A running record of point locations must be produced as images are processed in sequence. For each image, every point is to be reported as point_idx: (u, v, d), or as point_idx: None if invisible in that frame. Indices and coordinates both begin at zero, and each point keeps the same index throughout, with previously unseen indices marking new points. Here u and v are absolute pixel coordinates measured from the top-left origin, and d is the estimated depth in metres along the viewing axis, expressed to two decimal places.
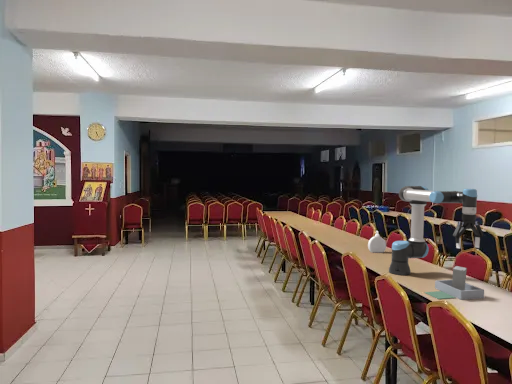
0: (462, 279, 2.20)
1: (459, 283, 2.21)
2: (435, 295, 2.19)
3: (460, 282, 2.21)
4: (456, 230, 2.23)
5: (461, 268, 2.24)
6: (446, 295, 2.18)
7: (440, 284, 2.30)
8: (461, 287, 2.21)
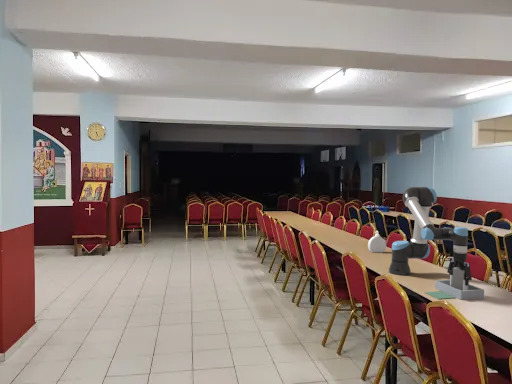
0: (462, 279, 2.20)
1: (459, 283, 2.21)
2: (435, 295, 2.19)
3: (460, 282, 2.21)
4: None
5: None
6: (446, 295, 2.18)
7: (440, 284, 2.30)
8: (461, 287, 2.21)
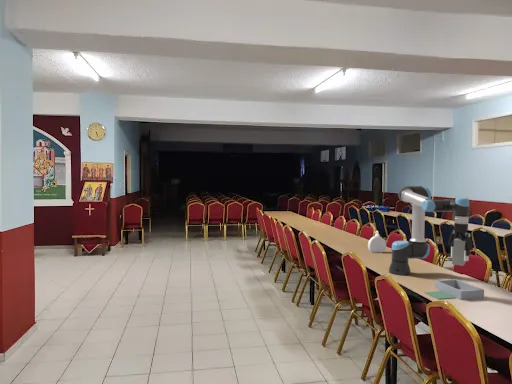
0: (463, 250, 2.19)
1: (460, 254, 2.21)
2: (435, 295, 2.19)
3: (461, 253, 2.20)
4: None
5: None
6: (446, 295, 2.18)
7: (440, 284, 2.30)
8: (462, 258, 2.20)
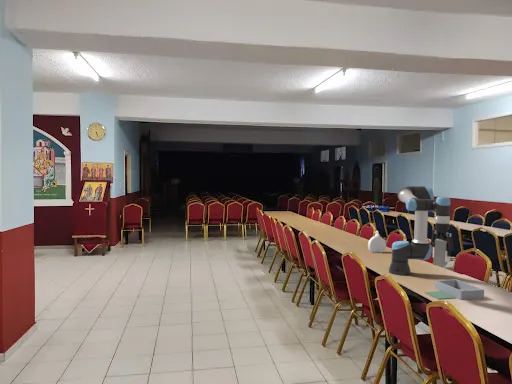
0: (445, 250, 2.14)
1: (441, 255, 2.15)
2: (435, 295, 2.19)
3: (442, 253, 2.15)
4: None
5: None
6: (446, 295, 2.18)
7: (440, 284, 2.30)
8: (443, 258, 2.15)
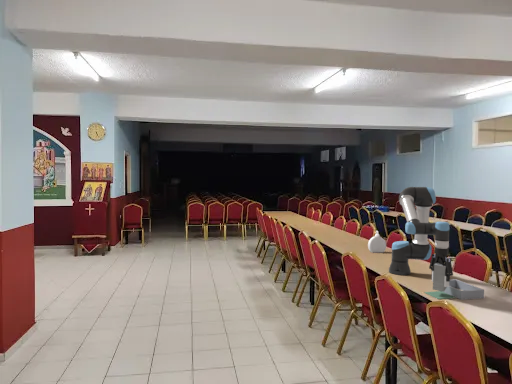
0: (444, 275, 2.15)
1: (440, 279, 2.16)
2: (435, 295, 2.19)
3: (441, 278, 2.16)
4: None
5: None
6: (446, 295, 2.18)
7: None
8: (442, 283, 2.15)
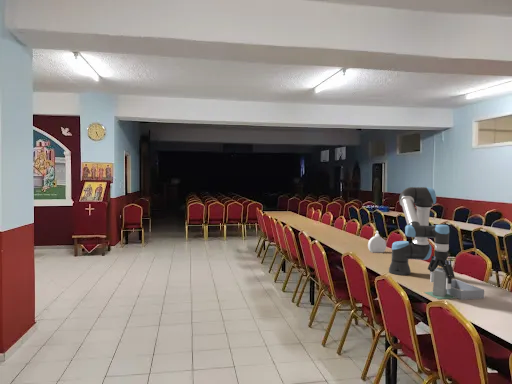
0: (444, 281, 2.15)
1: (440, 285, 2.16)
2: None
3: (441, 284, 2.15)
4: None
5: (443, 269, 2.18)
6: (446, 295, 2.18)
7: None
8: (442, 289, 2.15)
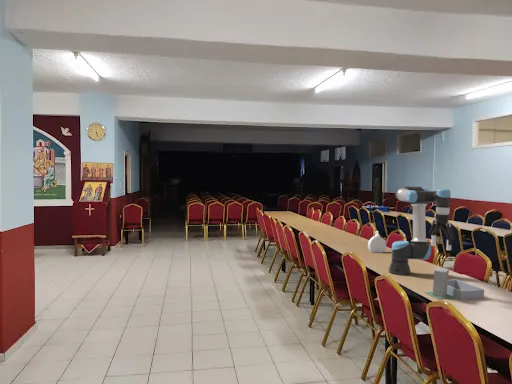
0: (444, 281, 2.15)
1: (440, 285, 2.16)
2: None
3: (441, 284, 2.15)
4: None
5: (443, 269, 2.18)
6: (446, 295, 2.18)
7: None
8: (442, 289, 2.15)
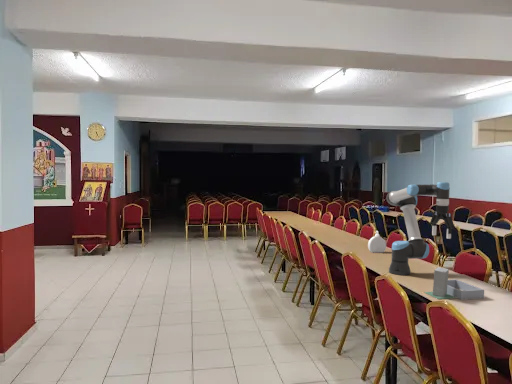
0: (444, 281, 2.15)
1: (440, 285, 2.16)
2: None
3: (441, 284, 2.15)
4: None
5: (443, 269, 2.18)
6: (446, 295, 2.18)
7: None
8: (442, 289, 2.15)
